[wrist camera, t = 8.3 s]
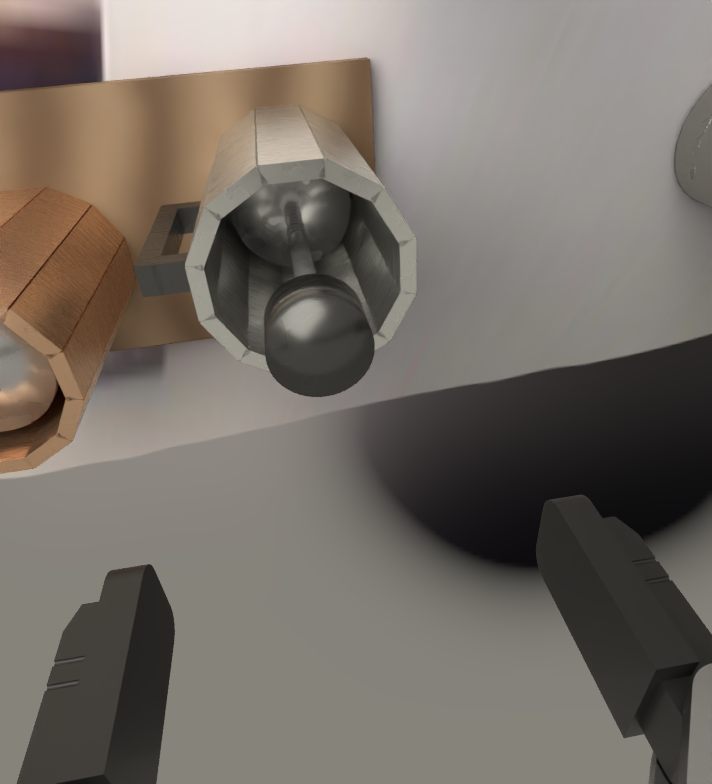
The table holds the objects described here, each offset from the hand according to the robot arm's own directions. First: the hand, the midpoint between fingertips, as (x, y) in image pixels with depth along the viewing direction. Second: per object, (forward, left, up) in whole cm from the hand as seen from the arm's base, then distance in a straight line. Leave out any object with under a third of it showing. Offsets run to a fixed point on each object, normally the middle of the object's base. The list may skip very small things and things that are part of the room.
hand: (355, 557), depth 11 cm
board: (+7, +1, -29) cm, 30 cm away
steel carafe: (+1, 0, -28) cm, 28 cm away
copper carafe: (+16, +3, -28) cm, 32 cm away
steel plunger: (0, 0, -25) cm, 25 cm away
